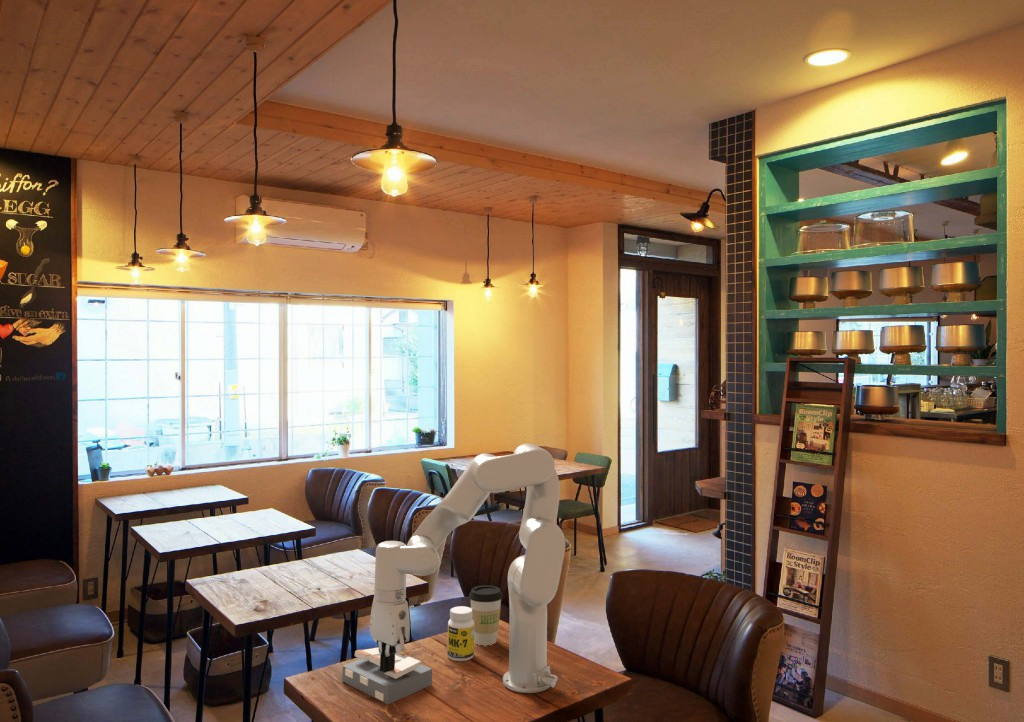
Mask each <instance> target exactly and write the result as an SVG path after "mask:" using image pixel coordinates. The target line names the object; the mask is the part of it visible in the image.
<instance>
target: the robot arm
mask: <svg viewBox="0 0 1024 722" xmlns="http://www.w3.org/2000/svg"><path fill="white" fill-rule="evenodd" d="M552 455H553V454H551V453H550V452H549V451H548V450H546V449H545V448H542V447H541V446H539V445H536V444H533V443H522V444H520V445H519V446H517V447H516V448H515V450H514V451H513V454H506V455H500V456H496V455H494V454H492V453H487V452H486V453H485V452H483V453H480V454H478V455H476V456H475V457H474V458H473V459H472V460H471V462H470V463H469V464H468V465H467V467H465V469H464V471H463V472H462V473H461V475H460V476H459V478H458V479H457V480H456V482H455V483H454V485H453V486H452V488H451V489H450V490H449V491H448V493H447V494H446V495H445V496H444V498H443V499H442V500H441V501H440V502H439V503H437V505H436V506H435V507H434V509H432V511H430V512H429V513H428V514H427V516H426V517H425V518H424V519H423V520H422V522H421V523H420V524H419V526H418V527H417V529H415V531H414V533H412V536H410V538H409V540H408V541H407V544H406V543H404V542H402V541H398V540H385V541H382V542H380V543H378V544H377V546H376V548H375V561H374V562H375V565H374V567H375V569H374V590H373V591H374V594H373V595H374V596H373V600H372V602H371V610H370V621H369V633H370V636H371V638H372V640H373V641H374V643H376V644H377V646H378V647H379V653H380V671H383V672H384V673H386V672H389V671H392V670H394V668H395V654H398V652H399V653H400V652H403V651H405V650H406V648H405V643H408V642H410V632H411V631H410V630H411V629H410V628H411V626H410V610H409V604H408V601H407V600H406V598H407V595H406V594H407V575H413V576H418V577H419V576H421V577H422V576H423V577H425V576H429V575H432V574H433V573H435V572H436V571H437V570H438V568H439V567H440V564H441V557H440V554H439V551H438V549H439V548H440V546H441V545H442V544H443V542H444V541H445V540H446V538H447V537H448V536H449V535H450V534H451V532H452V531H454V530H455V529H456V528H458V527H459V526H460V527H461V526H463V525H465V524H466V523H468V522H470V521H471V520H472V519H473V518H474V516H475V515H476V514H477V512H478V511H479V510H480V509H481V507H482V505H483V504H484V503H485V501H486V500H487V499H488V497H489V496H490V494H491V493H496V494H497V493H502V492H509V491H513V490H517V489H518V490H519V489H523V488H526V495H525V503H524V507H523V508H524V509H523V515H522V517H521V523H520V527H519V534H518V539H519V541H520V543H521V545H522V546H523V548H524V549H525V554H523V555H520V556H518V557H516V558H515V559H514V560H513V561H512V562H511V564H510V565H509V567H508V568H509V569H508V570H507V572H508V573H507V588H508V599H509V600H508V603H509V605H508V606H509V620H508V621H509V626H508V627H509V633H508V634H509V635H508V636H509V637H508V638H509V639H508V640H509V641H508V643H509V644H508V650H509V651H508V652H509V653H508V655H509V656H508V671H507V672H505V673H504V674H503V675H502V684H503V685H504V687H505V688H507V689H509V690H511V691H513V692H517V693H521V694H522V693H524V694H535V693H540V692H544V691H546V690H548V689H550V688H555V687H556V685H557V681H558V680H559V677H558V675H557V674H552V673H551V666H550V665H547V664H548V661H547V660H548V659H547V658H548V652H547V651H548V630H547V629H548V604H550V602H551V601H552V600H553V599H554V598H555V596H556V594H557V591H558V588H559V583H560V578H561V574H562V568H563V563H564V558H565V552H566V540H565V539H566V538H565V534H564V532H563V531H562V529H561V528H560V526H559V525H558V524H557V518H558V512H559V507H560V498H561V485H560V484H561V482H560V479H559V475H558V472H557V470H556V468H555V467H556V464H555V460H554V458H553V456H552ZM378 647H377V648H378Z"/></svg>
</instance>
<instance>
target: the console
mask: <svg viewBox="0 0 1024 722" xmlns="http://www.w3.org/2000/svg"><path fill="white" fill-rule="evenodd" d="M395 655H397V656H399V657H401V658H404V659H405V658H407V656H403V655H401V654H398V653H396V654H395ZM341 675H342V681H343V683H344V682H345V683H344V684H346V683H348V684H349V685H348V684H347V685H348V686H350V685H351V686H350V687H352V686H353V687H352V688H354V687H355V688H354V689H356V688H357V689H356V690H358V689H359V690H358V691H360V692H362V691H363V692H362V693H364V694H366V693H367V694H366V695H368V696H369V697H372V698H374V699H376V700H378V701H380V702H382V703H384V704H386V705H390V704H392V703H395V702H396V701H399V700H401V699H403V698H406V697H409V696H410V695H412V694H414V693H417V692H419V691H422V690H423V689H426V688H429V687H430V686H432V685H433V668H431V667H429V666H427V665H424V664H422V663H421V666H420V667H418V668H416V669H414V670H412V671H410V672H408V673H406V674H404V675H402V676H401V677H399V678H397V679H395V678H393V677H391V676H389V675H386V674H384V672H383V671H380V666H379V665H376V664H374V663H372V662H370V660H367V661H364V660H362V659H360V658H358V660H357V659H356V660H354V661H352V662H349V663H346V664H344V665H342V674H341Z"/></svg>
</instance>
